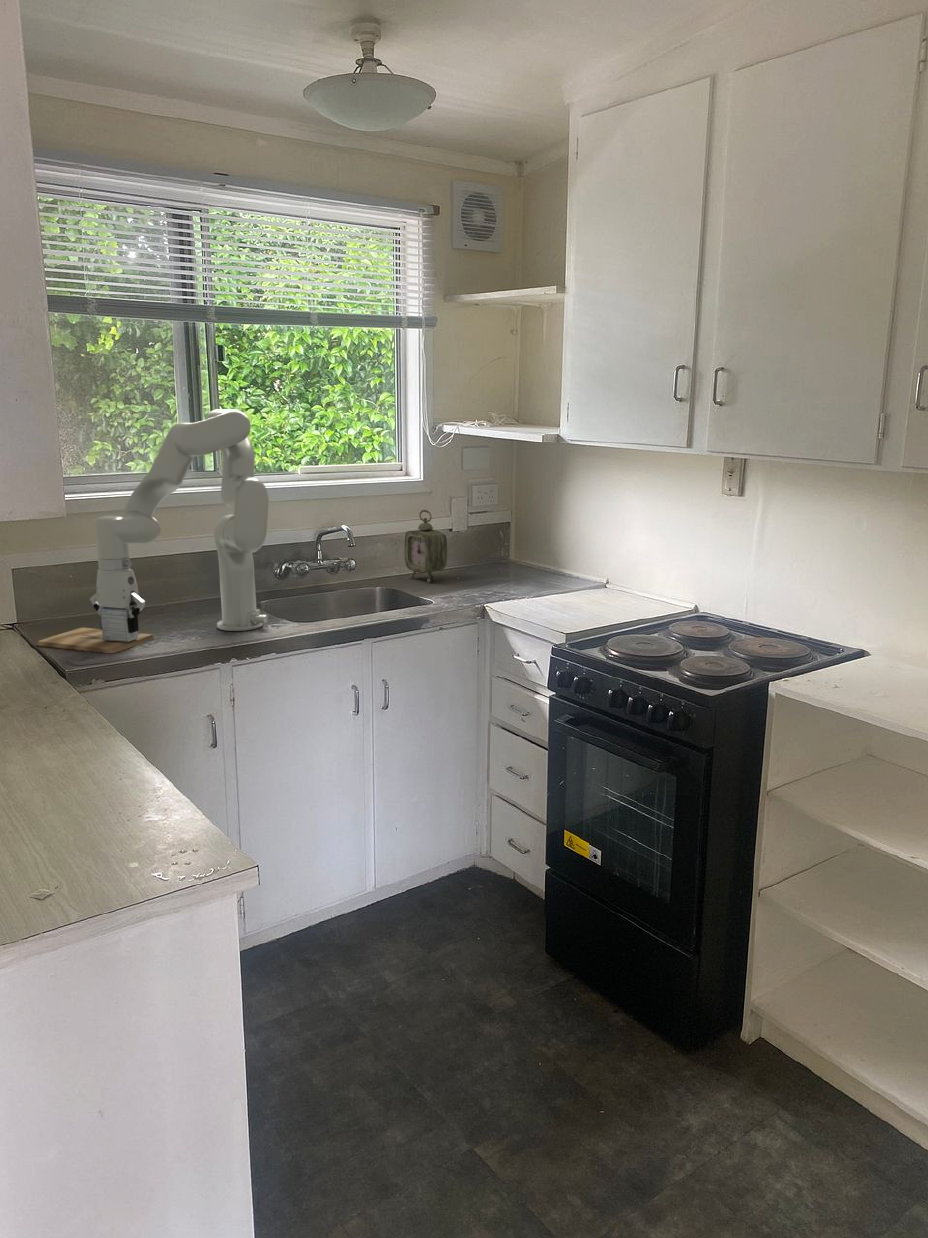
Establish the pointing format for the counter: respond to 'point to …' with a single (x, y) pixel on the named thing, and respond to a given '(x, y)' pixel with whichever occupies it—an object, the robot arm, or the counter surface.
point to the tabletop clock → (425, 549)
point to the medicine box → (116, 625)
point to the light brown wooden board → (90, 641)
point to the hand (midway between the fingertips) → (119, 630)
